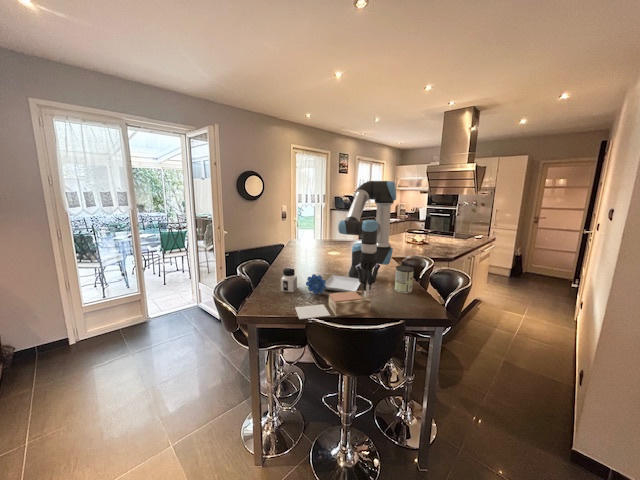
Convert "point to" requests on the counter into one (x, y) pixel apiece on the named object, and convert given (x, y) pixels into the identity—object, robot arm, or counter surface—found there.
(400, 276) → the coffee can
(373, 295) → the counter surface
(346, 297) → the block
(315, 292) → the grapes
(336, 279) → the salad plate
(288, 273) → the container
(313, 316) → the mat
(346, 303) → the box
